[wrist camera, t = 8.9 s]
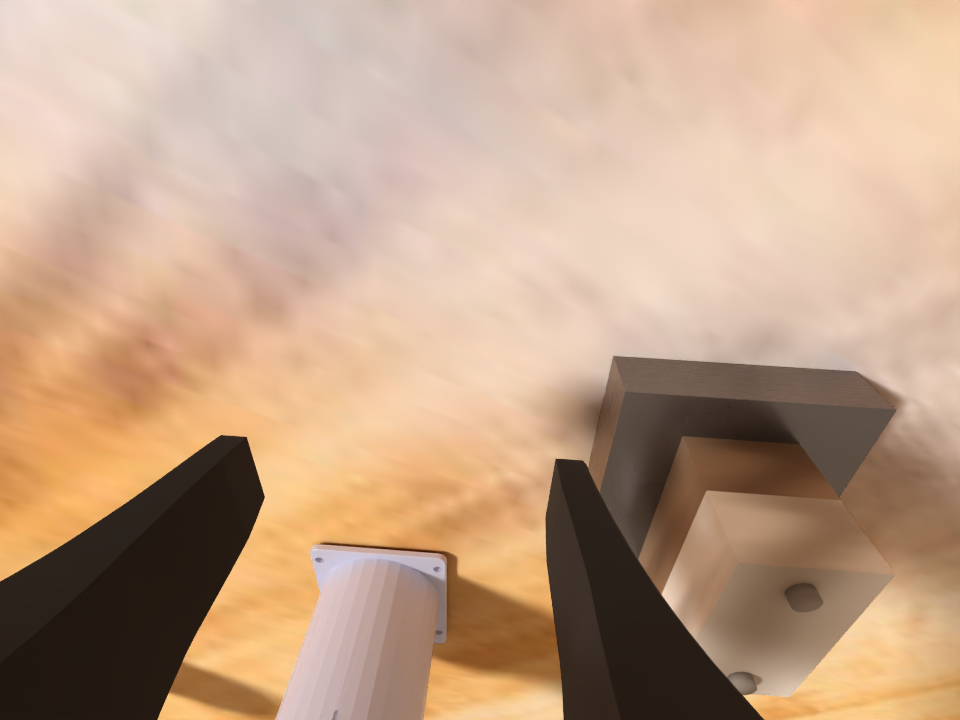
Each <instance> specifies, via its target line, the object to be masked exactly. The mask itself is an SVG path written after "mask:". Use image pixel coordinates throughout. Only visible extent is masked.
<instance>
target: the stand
mask: <svg viewBox="0 0 960 720" xmlns="http://www.w3.org/2000/svg"><path fill="white" fill-rule="evenodd" d="M896 410H897V409H895V408H894V407H893V406H892V405H891V404H890V403H889V402H888V401H887V400H886V399H885V398H884V397H883V396H881V395H880V394H879V393H878V392H877V391H876V390H875V389H874V388H873V387H872V386H871V385H870V384H869V383H867V382H866V381H865V380H864V379H863V378H862V377H861V376H860V375H859V374H858V373H857V372H852V371H836V370H821V369H805V368H789V367H774V366H758V365H742V364H727V363H711V362H695V361H680V360H664V359H648V358H633V357H617V356H613V361H612V365H611V369H610V374H609V378H608V383H607V387H606V391H605V396H604V400H603V405H602V409H601V414H600V418H599V422H598V427H597V431H596V436H595V440H594V444H593V449H592V453H591V458H590V462H589V467H588V470H589V472H590V474H591V476H592V478H593V480H594V483H595V485H596V487H597V489H598V491H599V493H600V495H601V497H602V498H603V500H604V502H605V504H606V506H607V508H608V510H609V512H610V513H611V515H612V517H613V519H614V521H615V522H616V524H617V526H618V527H619V529H620V531H621V533H622V534H623V536H624V538H625V539H626V541H627V543H628V544H629V546H630V548H631V549H632V551H633V553H634V554H635V556H636V557H637V559H639V556H640V553H641V550H642V547H643V545H644V542H645V539H646V536H647V534H648V531H649V528H650V525H651V522H652V520H653V517H654V514H655V511H656V509H657V506H658V503H659V500H660V497H661V495H662V492H663V489H664V486H665V484H666V481H667V478H668V475H669V472H670V470H671V467H672V464H673V461H674V459H675V456H676V453H677V450H678V447H679V445H680V442H681V439H682V436H686V437H701V438H715V439H729V440H744V441H758V442H773V443H787V444H800V445H801V446H802V448H803V449H804V450H805V452H806V453H807V455H808V456H809V457H810V459H811V460H812V461H813V463H814V464H815V465H816V467H817V468H818V470H819V471H820V472H821V474H822V475H823V476H824V478H825V479H826V480H827V482H828V483H829V485H830V486H831V487H832V489H833V490H834V491H835V493H836V494H837V495H838V497H840V495H841V494H842V492H843V491H844V489H845V487H846V486H847V484H848V483H849V481H850V480H851V478H852V477H853V475H854V474H855V472H856V471H857V469H858V468H859V466H860V465H861V463H862V462H863V460H864V459H865V457H866V456H867V454H868V452H869V451H870V449H871V448H872V446H873V445H874V443H875V442H876V440H877V439H878V437H879V436H880V434H881V433H882V431H883V430H884V428H885V427H886V425H887V424H888V422H889V421H890V419H891V417H892V416H893V414H894V413H895V411H896Z"/></svg>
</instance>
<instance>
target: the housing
mask: <svg viewBox="0 0 960 720" xmlns="http://www.w3.org/2000/svg"><path fill="white" fill-rule="evenodd" d="M638 560H639V562H640V564H641V565H642V567H643V568H644V570H645V571H646V573H647V574H648V576H649V577H650V579H651V580H652V582H653V583H654V585H655V586H656V588H657V589H658V590H659V592H660V593H661V595H662V596H663V598H664V599H665V600H666V602H667V603H668V604H669V606H670V607H671V609H672V610H673V611H674V613H675V614H676V615H677V617H678V618H679V619H680V621H681V622H682V623H683V624H684V626H685V627H686V628H687V630H688V631H689V632H690V634H691V635H692V636H693V637H694V639H695V640H696V641H697V642H698V644H699V645H700V646H701V647H702V649H703V650H704V651H705V652H706V654H707V655H708V656H709V657H710V659H711V660H712V661H713V662H714V663H715V664H716V666H717V667H718V668H719V669H720V670H721V671H722V672H723V674H724V675H725V676H726V677H727V678H728V679H729V680H730V682H731V683H732V684H733V685H734V686H735V687H736V688H737V689H738V691H739V692H740V693H741V694H742V695H748V694H757V695H769V696H781V697H790V696H791V695H792V694H793V693H794V691H795V690H796V689H797V688H798V687H799V686H800V684H801V683H802V682H803V681H804V680H805V679H806V678H807V676H808V675H809V674H810V673H811V672H812V671H813V669H814V668H815V667H816V666H817V665H818V664H819V663H820V661H821V660H822V659H823V658H824V657H825V656H826V654H827V653H828V652H829V651H830V650H831V649H832V647H833V646H834V645H835V644H836V643H837V642H838V641H839V639H840V638H841V637H842V636H843V635H844V634H845V632H846V631H847V630H848V629H849V628H850V627H851V626H852V624H853V623H854V622H855V621H856V620H857V619H858V617H859V616H860V615H861V614H862V613H863V612H864V610H865V609H866V608H867V607H868V606H869V605H870V604H871V602H872V601H873V600H874V599H875V598H876V597H877V595H878V594H879V593H880V592H881V591H882V590H883V589H884V587H885V586H886V585H887V584H888V583H889V582H890V580H891V579H892V578H893V577H894V576H895V573H894V572H893V571H892V569H891V568H890V566H889V565H888V564H887V562H886V561H885V560H884V558H883V557H882V556H881V554H880V553H879V551H878V550H877V549H876V547H875V546H874V545H873V543H872V542H871V541H870V539H869V538H868V536H867V535H866V534H865V532H864V531H863V530H862V528H861V527H860V526H859V524H858V523H857V521H856V520H855V519H854V517H853V516H852V515H851V513H850V512H849V511H848V509H847V508H846V506H845V505H844V504H843V502H842V501H841V500H840V498H839V497H838V495H837V494H836V493H835V491H834V490H833V489H832V487H831V486H830V485H829V483H828V482H827V480H826V479H825V478H824V476H823V475H822V474H821V472H820V471H819V470H818V468H817V467H816V465H815V464H814V463H813V461H812V460H811V459H810V457H809V456H808V455H807V453H806V452H805V450H804V449H803V448H802V446H801V445H800V444H787V443H773V442H758V441H744V440H729V439H715V438H701V437H686V436H682V439H681V442H680V445H679V447H678V450H677V453H676V456H675V459H674V461H673V464H672V467H671V470H670V472H669V475H668V478H667V481H666V484H665V486H664V489H663V492H662V495H661V497H660V500H659V503H658V506H657V509H656V511H655V514H654V517H653V520H652V522H651V525H650V528H649V531H648V534H647V536H646V539H645V542H644V545H643V547H642V550H641V553H640V556H639V559H638Z"/></svg>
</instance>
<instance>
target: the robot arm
mask: <svg viewBox="0 0 960 720" xmlns="http://www.w3.org/2000/svg"><path fill="white" fill-rule="evenodd" d="M264 498H265V496H264V493H263V490H262V486H261V483H260V480H259V476H258V473H257V470H256V467H255V463H254V460H253V457H252V453H251V450H250V447H249V443H248V440H247V437H239V436H225V435H221V436H219V437H218V438H216V439H215V440H213V441H212V442H210V443H209V444H207V445H206V446H205V447H203V448H202V449H200V450H199V451H198V452H196V453H195V454H194V455H192V456H191V457H189V458H188V459H187V460H185V461H184V462H183V463H181V464H180V465H179V466H177V467H176V468H174V469H173V470H172V471H170V472H169V473H168V474H166V475H165V476H163V477H162V478H161V479H159V480H158V481H156V482H155V483H154V484H152V485H151V486H149V487H148V488H147V489H145V490H144V491H143V492H141V493H140V494H138V495H137V496H136V497H134V498H133V499H131V500H130V501H128V502H127V503H126V504H124V505H123V506H121V507H120V508H118V509H117V510H115V511H114V512H112V513H111V514H109V515H108V516H106V517H105V518H103V519H102V520H100V521H99V522H97V523H96V524H94V525H93V526H91V527H90V528H88V529H87V530H85V531H84V532H82V533H81V534H79V535H78V536H76V537H75V538H73V539H71V540H70V541H68V542H67V543H65V544H63V545H62V546H60V547H59V548H57V549H55V550H54V551H52V552H50V553H49V554H47V555H46V556H44V557H42V558H40V559H39V560H37V561H35V562H34V563H32V564H30V565H28V566H27V567H25V568H23V569H22V570H20V571H18V572H16V573H15V574H13V575H11V576H9V577H8V578H6V579H4V580H2V581H1V582H0V720H157V719H158V717H159V714H160V712H161V709H162V707H163V705H164V702H165V700H166V698H167V695H168V693H169V691H170V689H171V686H172V684H173V682H174V680H175V677H176V675H177V673H178V670H179V668H180V666H181V664H182V661H183V659H184V657H185V655H186V653H187V651H188V649H189V647H190V645H191V643H192V641H193V639H194V637H195V635H196V633H197V631H198V629H199V628H200V626H201V624H202V622H203V620H204V619H205V617H206V615H207V613H208V611H209V610H210V608H211V606H212V604H213V602H214V601H215V599H216V597H217V595H218V593H219V592H220V590H221V588H222V586H223V584H224V583H225V581H226V579H227V577H228V575H229V574H230V572H231V570H232V568H233V566H234V564H235V563H236V561H237V559H238V557H239V555H240V553H241V552H242V550H243V548H244V546H245V544H246V542H247V540H248V538H249V536H250V534H251V531H252V529H253V526H254V524H255V522H256V519H257V516H258V514H259V511H260V509H261V506H262V503H263V501H264ZM310 555H311V559H312V563H313V567H314V571H315V575H316V579H317V583H318V587H319V591H320V596H319V599H318V602H317V604H316V607H315V610H314V613H313V616H312V618H311V621H310V624H309V627H308V630H307V632H306V635H305V638H304V641H303V644H302V646H301V649H300V652H299V655H298V658H297V660H296V663H295V666H294V669H293V672H292V674H291V677H290V680H289V683H288V686H287V688H286V691H285V694H284V697H283V699H282V702H281V705H280V708H279V711H278V713H277V716H276V719H275V720H423V719H424V711H425V704H426V696H427V689H428V682H429V674H430V667H431V659H432V652H433V645H434V643H436V644H442V643H444V642H446V638H447V558H446V557H445V556H444V555H442V554H439V553H427V552H414V551H401V550H388V549H375V548H362V547H349V546H336V545H322V544H317V545H314V546H313V547H312V549H311V551H310ZM546 555H547V568H548V576H549V583H550V591H551V599H552V607H553V614H554V622H555V629H556V637H557V644H558V652H559V659H560V669H561V679H562V692H563V713H564V720H764V719H763V718H762V717H761V716H760V715H759V713H758V712H757V711H756V710H755V709H754V708H753V707H752V705H751V704H750V703H749V702H748V701H747V700H746V699H745V697H744V696H743V695H742V694H741V693H740V692H739V691H738V689H737V688H736V687H735V686H734V685H733V684H732V683H731V682H730V680H729V679H728V678H727V677H726V676H725V675H724V674H723V672H722V671H721V670H720V669H719V668H718V667H717V666H716V664H715V663H714V662H713V661H712V660H711V659H710V657H709V656H708V655H707V654H706V652H705V651H704V650H703V649H702V647H701V646H700V645H699V644H698V642H697V641H696V640H695V639H694V637H693V636H692V635H691V634H690V632H689V631H688V630H687V628H686V627H685V626H684V624H683V623H682V622H681V621H680V619H679V618H678V617H677V615H676V614H675V613H674V611H673V610H672V609H671V607H670V606H669V604H668V603H667V602H666V600H665V599H664V598H663V596H662V595H661V593H660V592H659V590H658V589H657V588H656V586H655V585H654V583H653V582H652V580H651V579H650V577H649V576H648V574H647V573H646V571H645V570H644V568H643V567H642V565H641V564H640V562H639V560H638V559H637V557H636V556H635V554H634V553H633V551H632V549H631V548H630V546H629V544H628V543H627V541H626V539H625V538H624V536H623V534H622V533H621V531H620V529H619V527H618V526H617V524H616V522H615V521H614V519H613V517H612V515H611V513H610V512H609V510H608V508H607V506H606V504H605V502H604V500H603V498H602V497H601V495H600V493H599V491H598V489H597V487H596V485H595V483H594V480H593V478H592V476H591V474H590V472H589V470H588V467H587V465H586V464H585V463H584V462H583V461H581V460H567V459H556V460H555V466H554V472H553V478H552V483H551V489H550V495H549V501H548V507H547V512H546Z"/></svg>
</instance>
